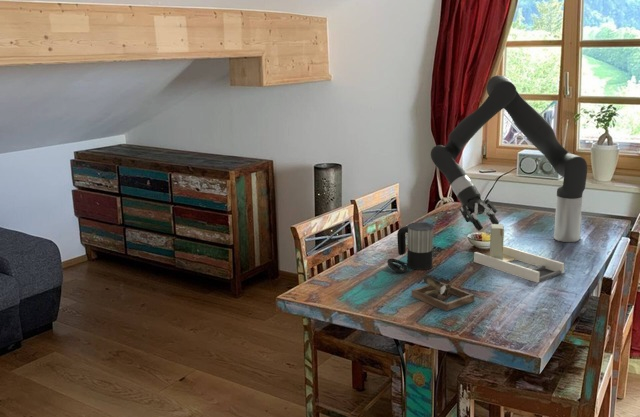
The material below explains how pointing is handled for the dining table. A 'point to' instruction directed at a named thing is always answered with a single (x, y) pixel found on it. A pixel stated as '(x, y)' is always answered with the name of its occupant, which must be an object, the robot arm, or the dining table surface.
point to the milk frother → (414, 247)
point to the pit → (546, 273)
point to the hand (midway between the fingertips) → (488, 227)
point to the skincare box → (496, 241)
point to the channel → (517, 269)
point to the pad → (507, 258)
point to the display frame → (440, 304)
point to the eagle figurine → (436, 287)
